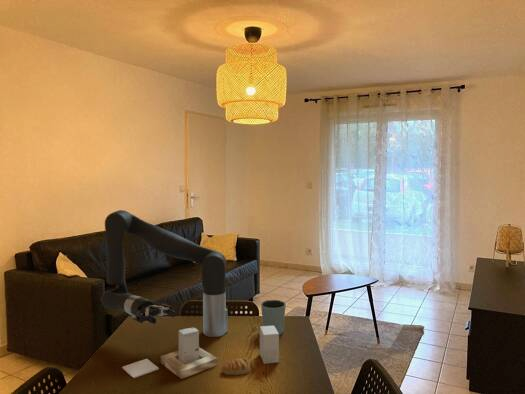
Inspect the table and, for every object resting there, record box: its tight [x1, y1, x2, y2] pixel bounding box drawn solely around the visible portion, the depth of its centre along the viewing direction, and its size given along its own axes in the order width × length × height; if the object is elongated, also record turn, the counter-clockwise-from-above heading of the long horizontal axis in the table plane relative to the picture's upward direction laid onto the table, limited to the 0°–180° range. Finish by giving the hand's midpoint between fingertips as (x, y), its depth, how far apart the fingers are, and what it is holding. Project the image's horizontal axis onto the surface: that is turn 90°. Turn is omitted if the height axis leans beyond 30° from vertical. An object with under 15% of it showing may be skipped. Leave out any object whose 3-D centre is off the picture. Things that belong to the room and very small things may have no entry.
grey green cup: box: [260, 299, 287, 336], centre depth 169 cm, size 10×10×12 cm
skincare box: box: [178, 326, 200, 364], centre depth 141 cm, size 6×4×12 cm
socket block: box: [160, 346, 218, 380], centre depth 141 cm, size 14×14×2 cm
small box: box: [259, 325, 280, 365], centre depth 146 cm, size 8×6×10 cm
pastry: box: [221, 357, 251, 376], centre depth 137 cm, size 9×7×4 cm
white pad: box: [121, 358, 160, 379], centre depth 138 cm, size 9×9×1 cm
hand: (165, 317), depth 148 cm, fingers open, 8 cm apart
